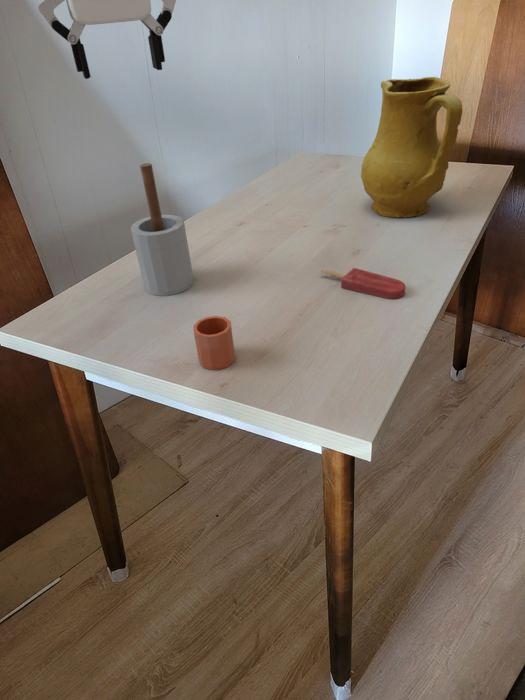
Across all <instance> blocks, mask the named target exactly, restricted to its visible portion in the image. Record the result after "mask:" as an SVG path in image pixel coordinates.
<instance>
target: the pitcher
mask: <svg viewBox="0 0 525 700" xmlns="http://www.w3.org/2000/svg"><path fill="white" fill-rule="evenodd" d="M380 87H381V90H382V91H381V92H382V96H381V97H382V98H381V99H382V100H381V107H380V109H381V110H380V117H379V123H378V127H377V131H376V135H375V138H374V140H373V142H372V144H371V146H370V148H369V149H368V150H367V152H366V153H365V156H364V158H363V160H362V164H361V170H360V172H361V173H360V178H361V181H362V185H363V187H364V191H365V193H366V194H367V196H368V197H370V199H372V200H373V203H372V204H371V210H372V211H373V212H374V213H376V214H378V216H382V217H384V218H385V217H387V218H396V219H399V218H401V219H403V218H404V219H405V218H410V217H411V218H413V217H420V216H422V215H424V214H427V213H429V211H430V209H431V204H430V203H429V202H428V201H429V200H430V199H431V198H432V197H433V196H434V195H435V194H437V193H438V192H440V191H442V189H443V187H444V182H445V180H446V175H447V171H448V169H449V160H450V158H451V157H452V155H453V147H454V146H455V145H456V143H457V137H458V133H459V126H460V125H461V121H462V116H463V102H462V100H461V99H460V98H459V96H457V95H456V94H451V93H450V94H448V93H446V92H447V91H448V90H449V88H450V87H451V83H450V81H448V80H446V79H443V78H440V77H437V76H426V77H422V78H408V79H407V78H406V79H402V78H401V79H400V78H399V79H398V78H391V79H387V80H382V81H381V82H380ZM442 107H443V108H444V109H445V110H446V116H445V125H444V131H443V135H442V138H441V141H440V140H439V137H438V132H437V122H438V121H437V119H438V118H437V117H438V116H437V115H438V112H439V111H440V110H441V108H442Z"/></svg>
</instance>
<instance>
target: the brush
mask: <svg viewBox="0 0 525 700" xmlns="http://www.w3.org/2000/svg"><path fill="white" fill-rule="evenodd" d="M139 168H140V173H141V177H142V183H143V187H144V192H145V198H146V202H147V207H148V212H149V217H151V222H152V226H153V231H154V232H158V231H163V230H164V225H163V220H162V215H163V214H162V210H161V206H160V200H159V194H158V190H157V185H156V184H157V183H156V179H155V175H154V168H153V164H152V163H150V162H145V163H142V164H140V165H139Z"/></svg>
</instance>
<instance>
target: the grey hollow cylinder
mask: <svg viewBox="0 0 525 700" xmlns="http://www.w3.org/2000/svg"><path fill="white" fill-rule="evenodd" d="M161 215H162V220H163V225H164V230H163V231H158V232H154V231H153V226H152V222H151V217H150V216H147V217H143V218H141V219H139V220H137V221H136V222H134V223H133V224H132V225H131V227H130V231H131V236H132V241H133V245H134V249H135V252H136V253H135V254H136V257H137V262H138V267H139V270H140V274H141V275H140V276H141V279H142V283H143V287H144V289H145V291H146V292H147V293H148V294H150V295H153V296H159V297H165V296H166V297H167V296H173V295H176V294H180V293H182V292H185V291H186V290H188V289H190V288H191V287H192V286H193V284H194V273H193V272H194V271H193V266H192V261H191V255H190V250H189V243H188V236H187V232H186V225H185V221H184V219H183V218H182V217H180V216H178V215H174V214H161Z"/></svg>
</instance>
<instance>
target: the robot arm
mask: <svg viewBox="0 0 525 700" xmlns="http://www.w3.org/2000/svg"><path fill="white" fill-rule="evenodd" d="M65 1H66V7H67V10H68V12H69V16H70V18H71V20H72V23H71V25H70V27H69V28H68V27H67V26H65V25H64V24H63V23H62V22H60V20H59V19H58V17H57V15H55V12H54V10H55V9H56V8H57V7H58V6H59V5H61V4H62V3H63V2H65ZM161 1H162V8H161V11H160V13H159V14H158V16H157V17H156V19H155V17H154V16H153V15H152V4H151V3H152V2H151V0H43V1H42V2H41V3H39V5H38V7H37V8H38V9H37V10H38V11H39V12H40V14H41V15H42V17H43V18H44V19H45V21H46V22H47V23H48V24H49V26H50V27H51V29H52V30H53V31H54V32H56V34H58V35H60V36H61V38H63V39H64V40H65V41H67V42H68V43H69V44H70V47H71V51H72V56H73V59H74V60H73V61H74V64H75V68H76V71H77V73H82V76H83V78H84V79H85V80H88V79H90V78H91V72H90V68H89V64H88V60H87V55H86V50H85V47H84V44H83V43H82V41H81V35H82V33H83V31H84V29H85V27H86V26H94V25H104V24H105V25H106V24H115V23H127V22H136V21H139V22H141V23H142V24H143V25H144V26H145V27H146V29H148V30H149V35H148V36H147V39H148V45H149V51H150V57H151V65H152V68H153V69H155V70H157V71H162V70H163V64H162V63H165V62H166V56H165V51H164V43H163V38H162V35H163V34H164V31H165V30H166V28H167V26H169V25H168V24H169V23H170V21H171V20H172V19H173V18H172V17H173V12H174V10H175V5H176V1H177V0H161Z"/></svg>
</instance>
